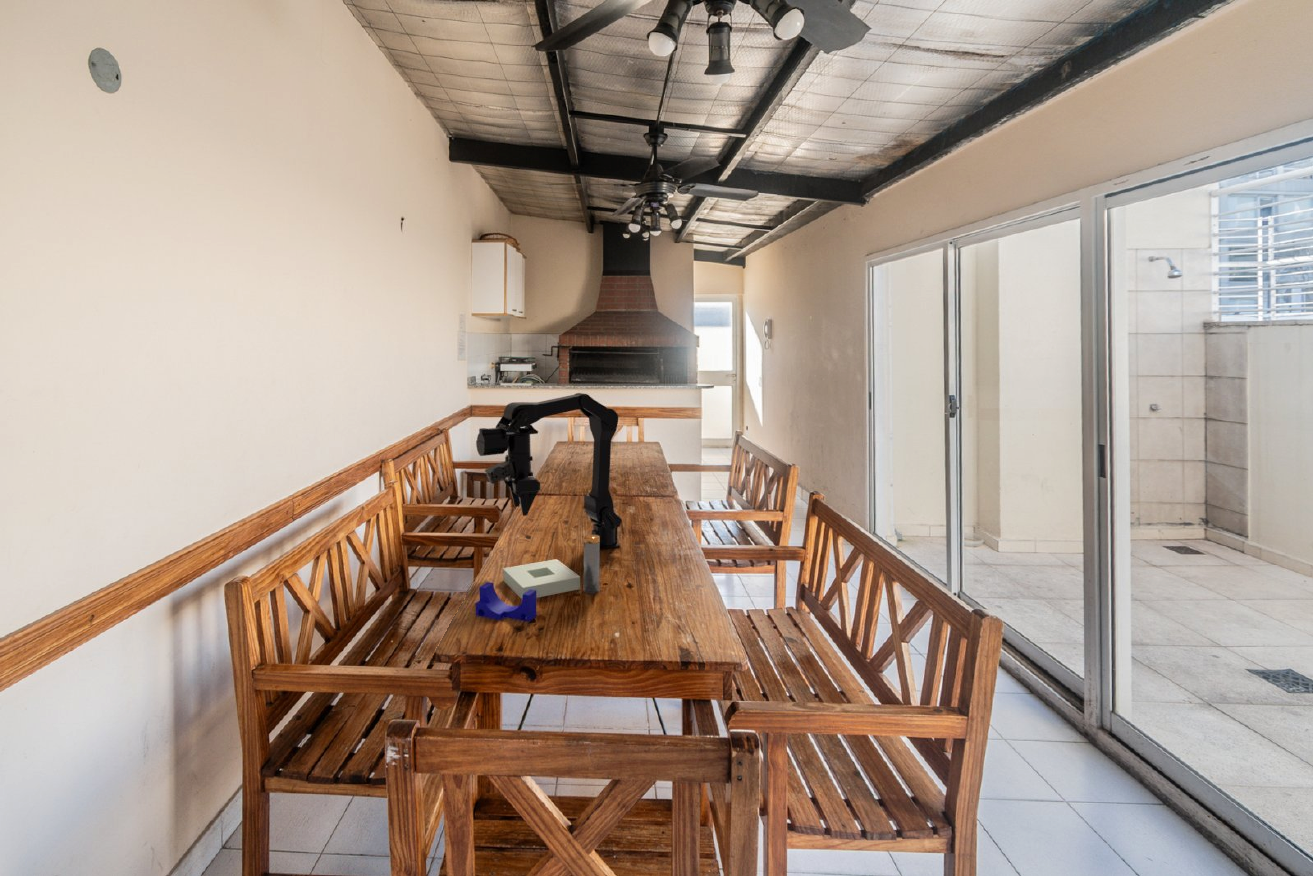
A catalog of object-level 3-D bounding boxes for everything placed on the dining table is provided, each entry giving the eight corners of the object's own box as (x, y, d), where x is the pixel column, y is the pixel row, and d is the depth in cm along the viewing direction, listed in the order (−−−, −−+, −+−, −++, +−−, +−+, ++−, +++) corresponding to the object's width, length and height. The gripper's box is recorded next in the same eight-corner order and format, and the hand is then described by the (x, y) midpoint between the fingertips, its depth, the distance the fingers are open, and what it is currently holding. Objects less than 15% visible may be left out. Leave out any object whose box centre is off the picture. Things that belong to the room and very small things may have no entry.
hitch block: (556, 570, 162) (556, 559, 161) (580, 589, 150) (580, 576, 150) (503, 580, 154) (502, 568, 154) (523, 600, 143) (522, 587, 142)
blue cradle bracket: (475, 616, 135) (475, 589, 134) (488, 608, 139) (487, 582, 138) (525, 625, 131) (525, 598, 130) (536, 617, 135) (536, 590, 134)
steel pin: (594, 586, 152) (595, 533, 150) (601, 591, 149) (602, 538, 147) (581, 589, 150) (581, 536, 148) (587, 594, 147) (588, 540, 145)
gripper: (480, 448, 168) (482, 505, 171) (494, 461, 151) (496, 524, 154) (522, 445, 173) (524, 501, 175) (540, 457, 156) (541, 519, 158)
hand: (520, 511), depth 165 cm, fingers open, 9 cm apart
